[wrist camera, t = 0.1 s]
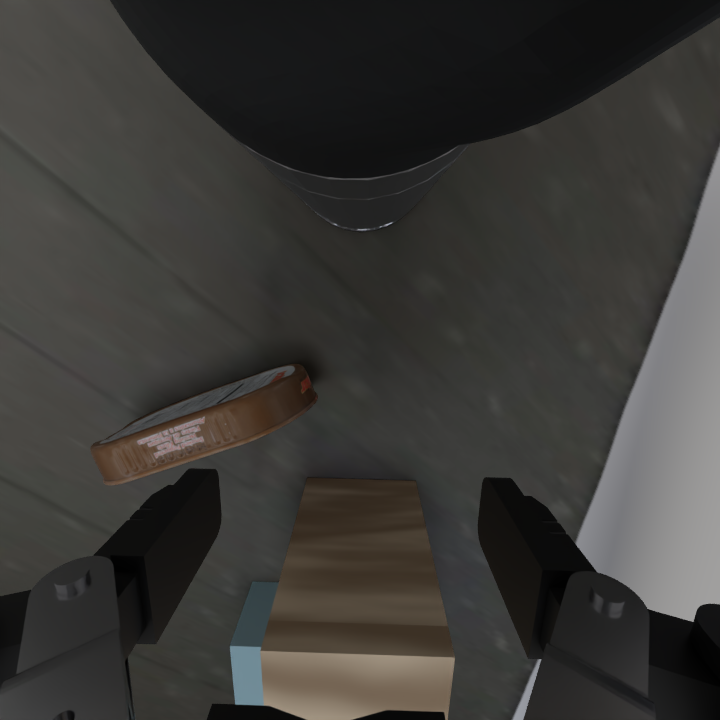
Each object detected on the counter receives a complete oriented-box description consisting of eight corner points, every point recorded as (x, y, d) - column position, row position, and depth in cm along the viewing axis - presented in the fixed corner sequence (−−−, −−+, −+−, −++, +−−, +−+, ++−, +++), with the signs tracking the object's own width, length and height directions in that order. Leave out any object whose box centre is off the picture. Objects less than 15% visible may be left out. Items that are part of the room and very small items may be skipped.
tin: (154, 442, 30) (76, 509, 22) (135, 408, 29) (47, 465, 21) (326, 384, 28) (310, 433, 20) (311, 346, 28) (288, 382, 20)
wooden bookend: (307, 477, 31) (260, 650, 17) (415, 480, 30) (454, 657, 17) (310, 626, 35) (274, 859, 21) (405, 629, 35) (429, 865, 21)
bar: (253, 579, 34) (229, 646, 28) (279, 580, 34) (261, 647, 28) (264, 743, 40) (247, 827, 34) (286, 744, 40) (273, 827, 34)
